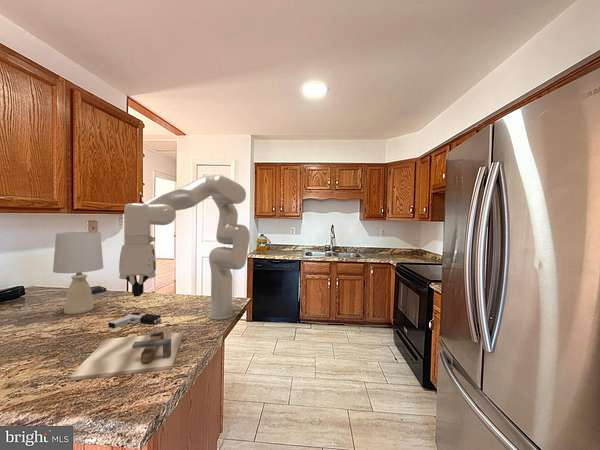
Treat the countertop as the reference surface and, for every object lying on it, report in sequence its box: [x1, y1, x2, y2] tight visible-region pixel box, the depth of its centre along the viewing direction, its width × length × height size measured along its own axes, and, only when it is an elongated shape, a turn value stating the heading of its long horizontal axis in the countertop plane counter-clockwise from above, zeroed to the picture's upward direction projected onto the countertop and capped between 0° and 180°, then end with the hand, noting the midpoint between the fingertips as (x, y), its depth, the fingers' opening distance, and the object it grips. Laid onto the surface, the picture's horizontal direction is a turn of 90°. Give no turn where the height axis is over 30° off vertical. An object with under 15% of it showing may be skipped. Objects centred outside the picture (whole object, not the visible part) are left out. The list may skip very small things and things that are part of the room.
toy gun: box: [108, 311, 162, 329], centre depth 117 cm, size 3×16×12 cm
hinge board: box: [68, 328, 184, 382], centre depth 92 cm, size 26×25×6 cm
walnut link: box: [141, 330, 165, 363], centre depth 93 cm, size 19×4×2 cm, turn 16°
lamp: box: [52, 231, 104, 315], centre depth 132 cm, size 19×19×37 cm
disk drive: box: [90, 285, 107, 295], centre depth 163 cm, size 10×3×15 cm
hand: (137, 295), depth 93 cm, fingers closed
